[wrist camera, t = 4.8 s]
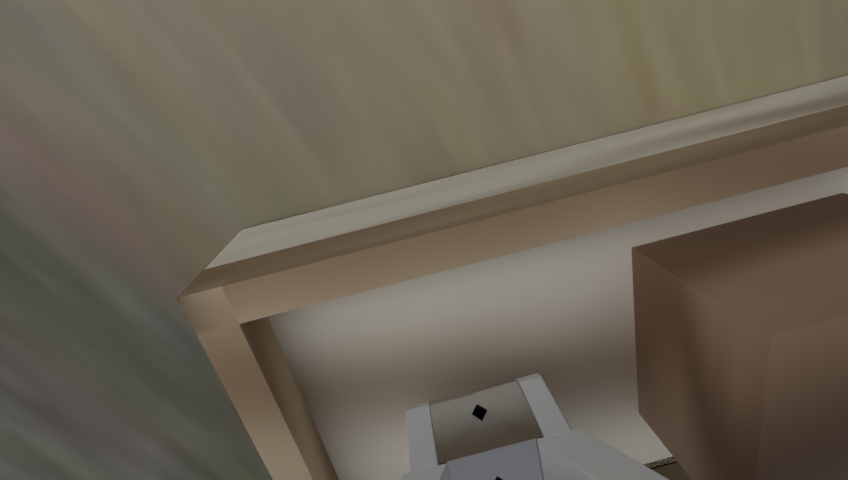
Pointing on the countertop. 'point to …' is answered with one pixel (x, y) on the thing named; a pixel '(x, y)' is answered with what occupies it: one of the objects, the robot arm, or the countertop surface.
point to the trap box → (489, 283)
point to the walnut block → (748, 344)
